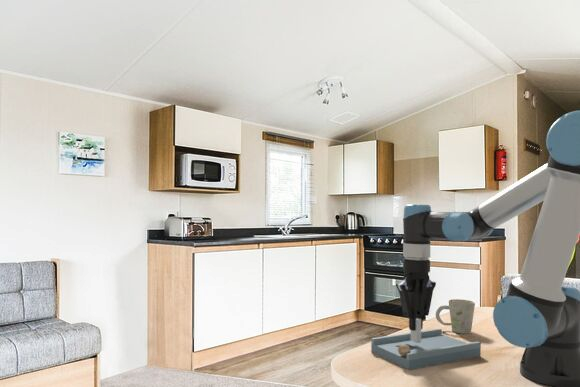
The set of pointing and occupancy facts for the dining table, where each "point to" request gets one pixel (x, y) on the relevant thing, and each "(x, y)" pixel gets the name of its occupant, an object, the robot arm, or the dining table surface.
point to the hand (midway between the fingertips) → (415, 341)
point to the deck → (424, 349)
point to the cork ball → (404, 350)
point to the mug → (459, 315)
